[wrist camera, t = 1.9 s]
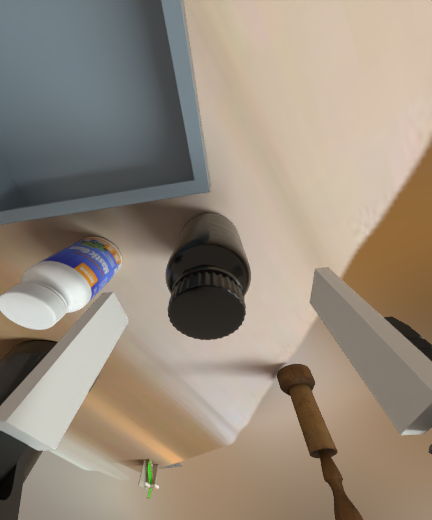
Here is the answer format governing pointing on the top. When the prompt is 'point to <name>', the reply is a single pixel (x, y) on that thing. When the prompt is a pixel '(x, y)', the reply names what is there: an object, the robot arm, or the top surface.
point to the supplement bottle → (208, 278)
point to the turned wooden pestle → (316, 433)
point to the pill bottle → (61, 283)
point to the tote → (96, 106)
